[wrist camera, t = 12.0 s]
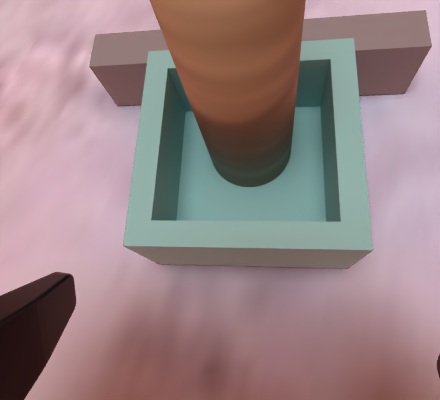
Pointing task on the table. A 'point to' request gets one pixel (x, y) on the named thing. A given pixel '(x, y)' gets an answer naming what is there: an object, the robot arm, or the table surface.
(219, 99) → the dowel
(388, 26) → the backstop wall
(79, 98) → the table surface
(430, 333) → the table surface
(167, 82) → the socket block
